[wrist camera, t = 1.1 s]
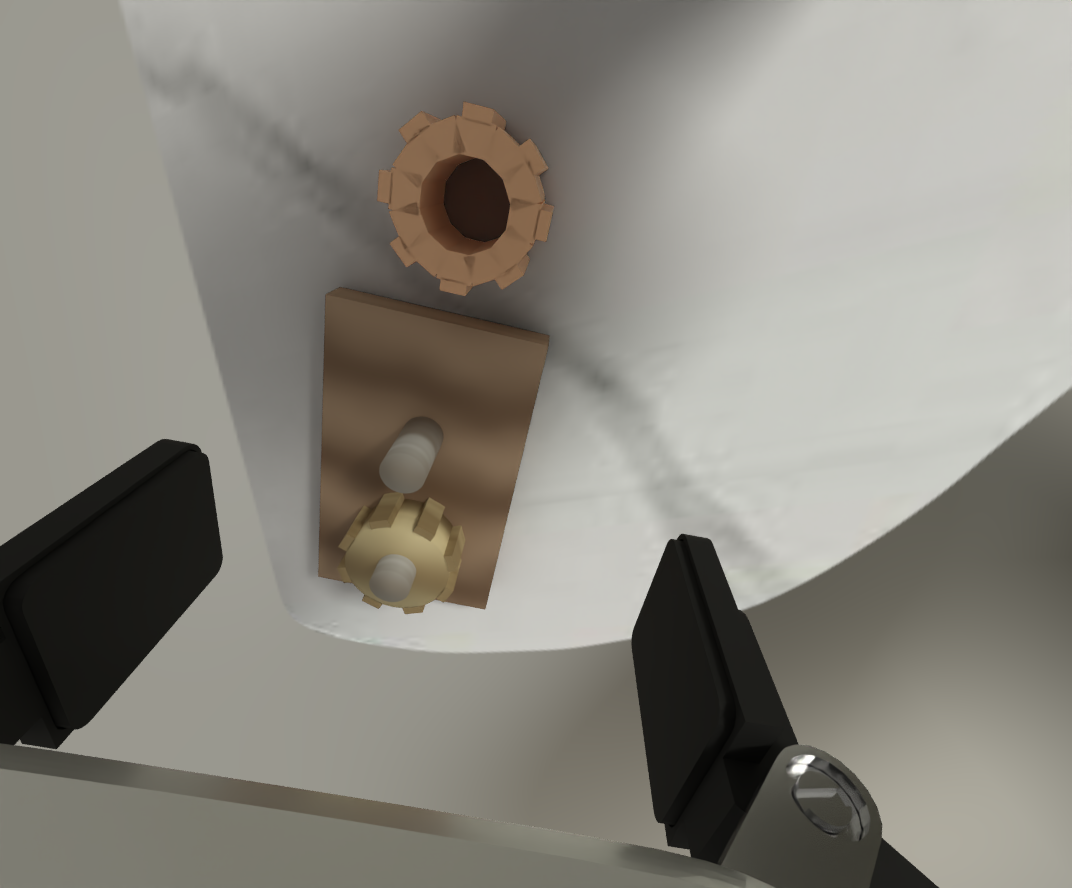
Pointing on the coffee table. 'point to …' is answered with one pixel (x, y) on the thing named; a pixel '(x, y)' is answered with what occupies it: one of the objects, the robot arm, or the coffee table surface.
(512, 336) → the gear board
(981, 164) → the coffee table surface
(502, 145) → the loose gear
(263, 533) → the coffee table surface
